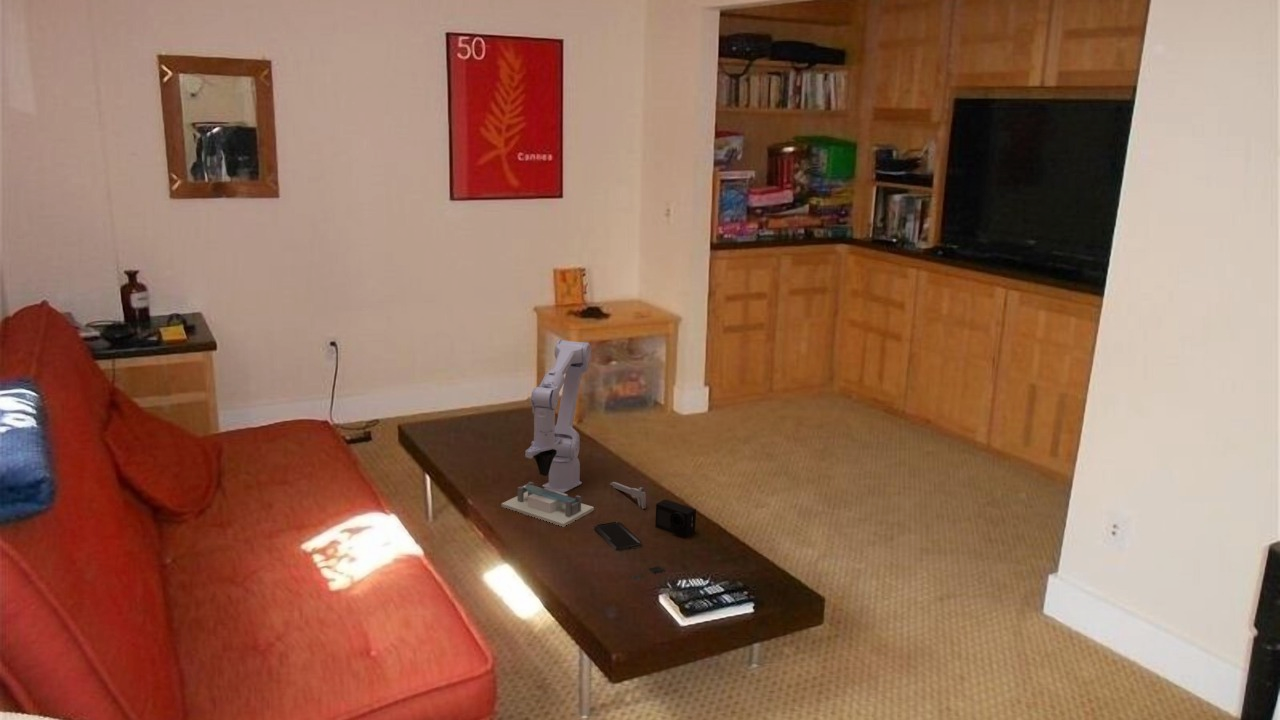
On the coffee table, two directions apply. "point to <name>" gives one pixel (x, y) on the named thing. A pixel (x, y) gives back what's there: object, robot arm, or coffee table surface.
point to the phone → (617, 536)
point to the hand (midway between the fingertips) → (544, 474)
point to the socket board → (543, 515)
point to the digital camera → (675, 518)
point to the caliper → (633, 493)
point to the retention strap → (548, 494)
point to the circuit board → (654, 570)
